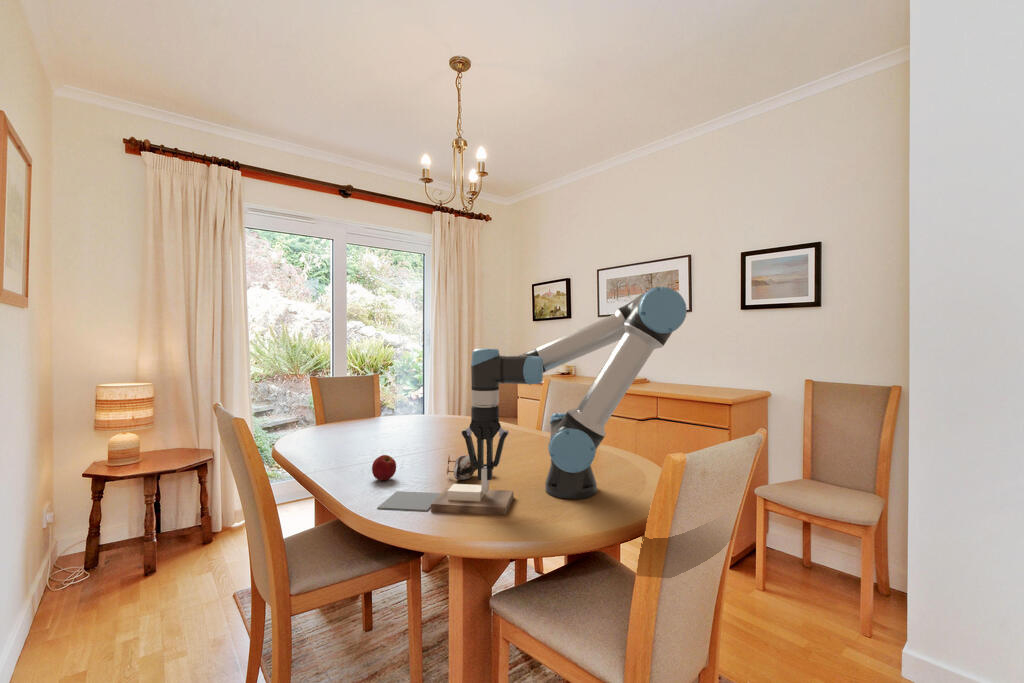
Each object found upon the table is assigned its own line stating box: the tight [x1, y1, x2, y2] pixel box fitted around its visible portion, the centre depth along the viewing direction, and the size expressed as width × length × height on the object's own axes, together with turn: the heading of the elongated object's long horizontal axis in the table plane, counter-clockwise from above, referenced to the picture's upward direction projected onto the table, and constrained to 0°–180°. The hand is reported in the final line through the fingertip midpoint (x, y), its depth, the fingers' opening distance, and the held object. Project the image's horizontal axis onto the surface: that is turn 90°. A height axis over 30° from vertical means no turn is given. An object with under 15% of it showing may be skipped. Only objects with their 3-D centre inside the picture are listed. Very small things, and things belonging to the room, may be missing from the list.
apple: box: [371, 454, 397, 482], centre depth 148 cm, size 8×8×8 cm
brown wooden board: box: [430, 487, 514, 516], centre depth 125 cm, size 20×13×2 cm, turn 81°
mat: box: [376, 490, 441, 512], centre depth 128 cm, size 14×13×1 cm
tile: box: [447, 483, 485, 501], centre depth 126 cm, size 9×6×2 cm, turn 81°
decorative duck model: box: [446, 454, 495, 481], centre depth 147 cm, size 15×8×15 cm
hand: (485, 491), depth 125 cm, fingers closed
